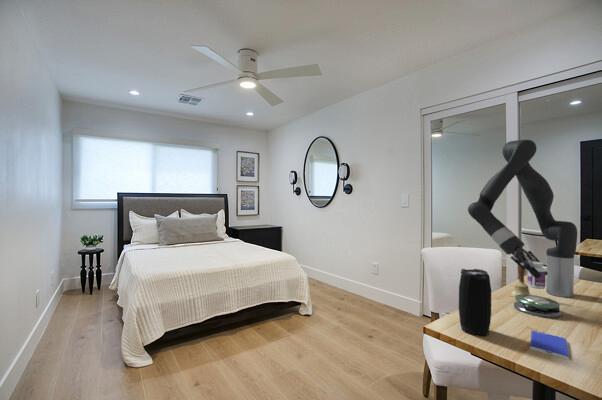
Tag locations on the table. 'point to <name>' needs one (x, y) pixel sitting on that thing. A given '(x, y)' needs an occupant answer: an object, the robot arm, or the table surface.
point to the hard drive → (549, 344)
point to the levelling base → (537, 306)
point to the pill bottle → (538, 282)
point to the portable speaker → (475, 301)
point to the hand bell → (520, 284)
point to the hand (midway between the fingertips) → (542, 276)
